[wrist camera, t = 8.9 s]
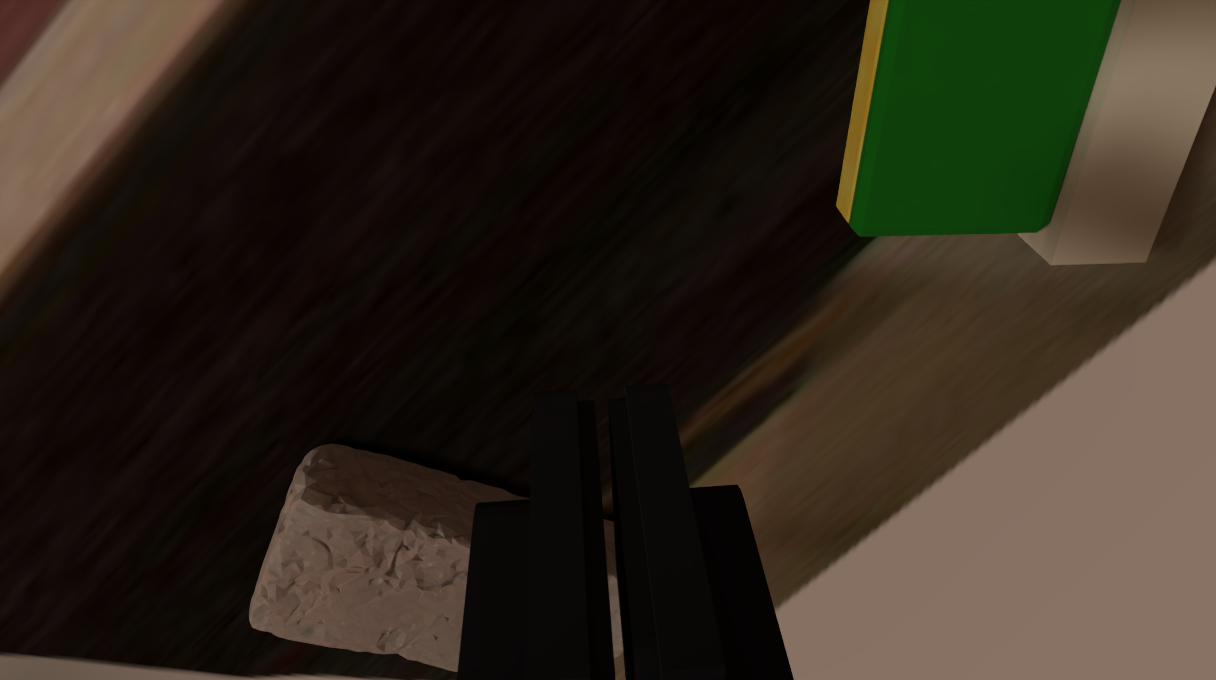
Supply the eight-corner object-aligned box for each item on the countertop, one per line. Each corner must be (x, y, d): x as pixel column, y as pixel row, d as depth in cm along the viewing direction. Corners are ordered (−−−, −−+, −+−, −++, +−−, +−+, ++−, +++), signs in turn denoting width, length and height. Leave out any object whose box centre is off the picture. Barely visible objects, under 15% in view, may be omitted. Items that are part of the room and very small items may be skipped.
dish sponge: (831, 209, 31) (850, 238, 29) (904, -240, 24) (938, -244, 22) (1015, 205, 32) (1047, 234, 30) (1146, -238, 24) (1201, -241, 22)
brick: (661, 527, 40) (673, 608, 36) (588, 634, 44) (591, 717, 40) (314, 420, 35) (284, 498, 31) (268, 550, 39) (235, 633, 35)
